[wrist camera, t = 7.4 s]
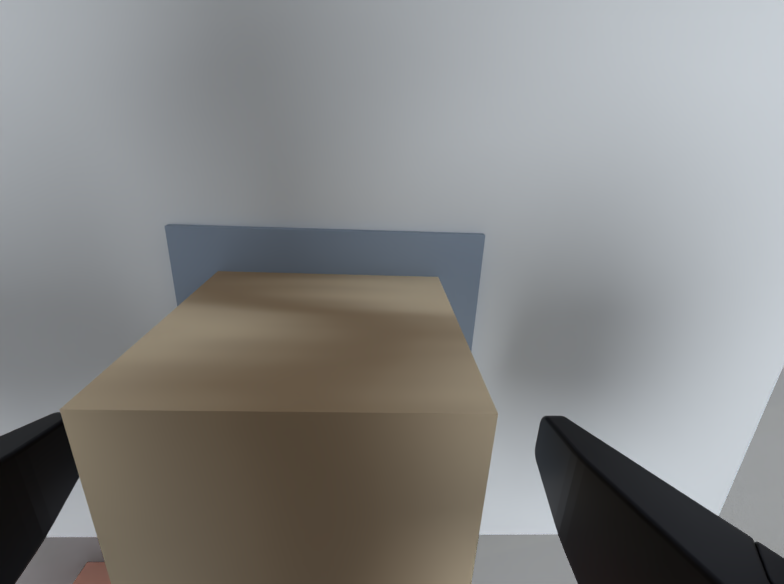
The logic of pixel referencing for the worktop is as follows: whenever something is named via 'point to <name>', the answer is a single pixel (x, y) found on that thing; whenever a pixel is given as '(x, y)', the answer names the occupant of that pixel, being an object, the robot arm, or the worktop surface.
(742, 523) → the worktop surface
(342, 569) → the maple block
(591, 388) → the blueprint board
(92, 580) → the coral block
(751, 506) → the worktop surface
